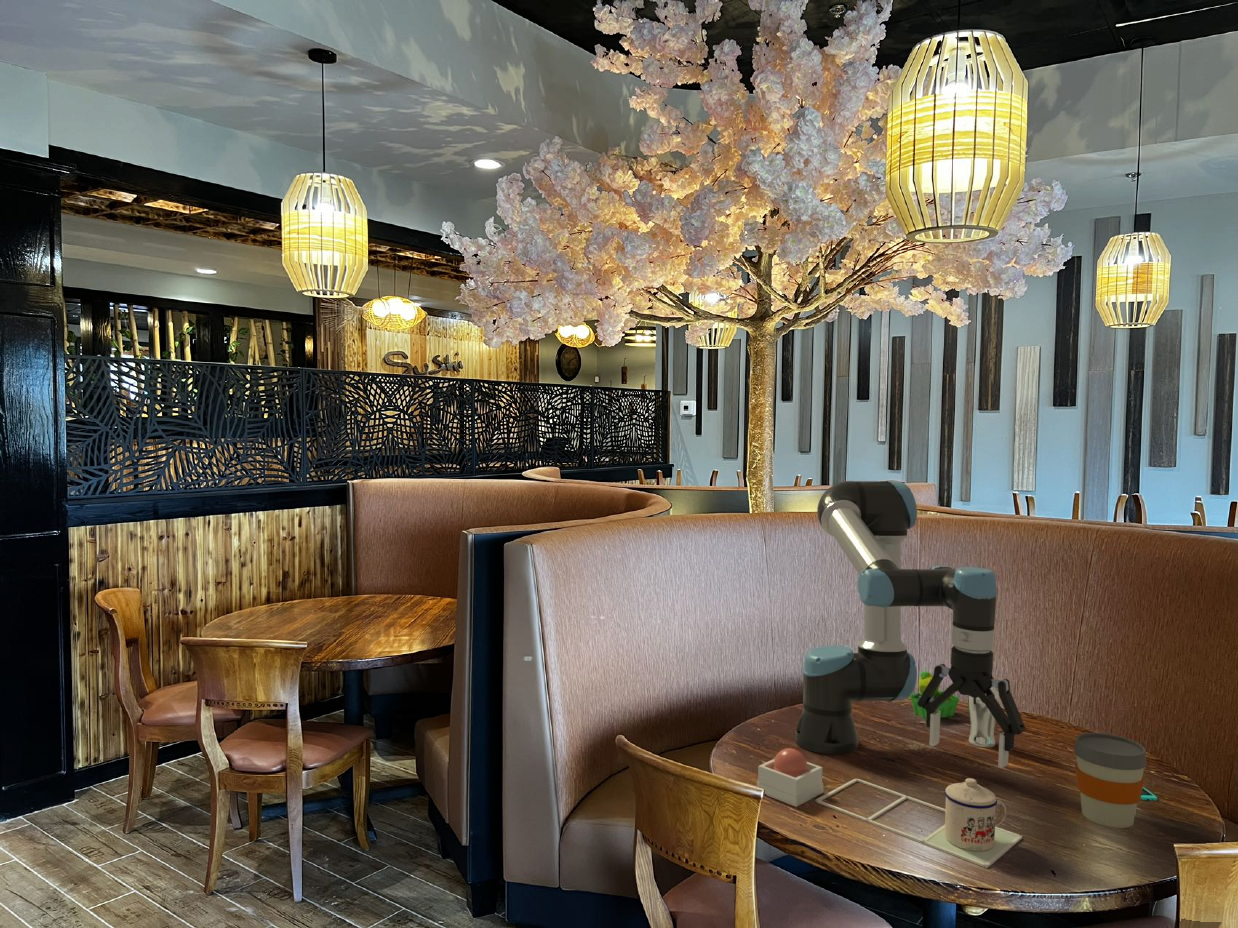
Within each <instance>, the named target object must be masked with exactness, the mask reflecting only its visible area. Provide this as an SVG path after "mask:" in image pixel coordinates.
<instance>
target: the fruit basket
mask: <svg viewBox="0 0 1238 928" xmlns="http://www.w3.org/2000/svg"><path fill="white" fill-rule="evenodd" d="M933 675H934V674H932V673H931V672H929V671H928V670H927V671H926V670H924V671H921V672H920V674H919V681H918V690H919V691H920V693H914V694H913V693H912V694H911V695H910V696H909V699H910V700H911V703H912V708H913V712H914V715H917V716H919V717H920V718H922V719H925V720H926V714H927V713H926V710H925V709H924V708H923V707H919V706H918V704H917V702H918V701H919V699H920V697H921V696H922V694H923V692H924V691H925V689H926V687H927V686H928V684H929V682H930V681H931V679H932V677H933ZM940 687H941V686H940V685H939V686H938V688H937V690H936V691H935V693H934V695H933V696H932V698H931V699H930V701H929V702H930V703H931V702H933V701H934V700H935V699H936V698H937V697H938V696H939V695H941V694H942V693H943V692H944V691H942V690H939V689H940ZM960 699H961V698H959V697H958V696H955V695H954V694H953V695H952V696H951V697H950V698H948V699H947V700H946V701H945V702H944V703H943V704H942V705H940V706H939V707H938V709H936V711H940V719H942V718H944V719H945V718H948V717H949V718H950V717H954V716H955V712H956V710H957V706H958V703H959V702H960Z"/></svg>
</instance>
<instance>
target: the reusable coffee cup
mask: <svg viewBox="0 0 1238 928" xmlns="http://www.w3.org/2000/svg"><path fill="white" fill-rule="evenodd" d="M1075 739H1076V740H1075V744H1074V750H1073V751H1074V754H1075V756H1076V763H1075V765H1074V769H1075V778H1076V785H1077V786H1076V787H1077V790H1078V791H1079V793H1080V805H1081V813H1082V815H1083V816H1084V817H1085V818H1086V819H1088V820H1089V821H1091V822H1094V823H1096V822H1097V823H1096V824H1098V825H1103V826H1105V827H1109V828H1110V827H1111V828H1119V829H1120V828H1121V829H1122V828H1123V829H1124V828H1129V827H1131V826H1133V825H1134V822H1135V817H1136V812H1137V806H1138V803H1140V802H1141V801H1142V800H1141V795H1142V789H1143V787H1144V784H1145V776H1144V775H1143V774H1144V770H1145V768H1146V767H1147V763H1148V762H1147V753H1146V748H1145V746H1143V745H1142V744H1140V743H1139V742H1137V741H1135V740H1132V739H1129V738H1126V737H1124V736H1123V737H1122V736H1119V735H1114V734H1108V733H1101V732H1087V733H1081V734H1078V735H1077V736H1076V738H1075Z"/></svg>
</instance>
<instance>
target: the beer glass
mask: <svg viewBox="0 0 1238 928" xmlns="http://www.w3.org/2000/svg"><path fill="white" fill-rule="evenodd" d="M990 689H991V691H992V692H993V694H994V695H995V699H996V700H997V702H998V703H999V704H1000V702H999V701H1000V700H999V699H1000V696H999V692H998V691H996V688H995V687H994V686H992V687H991V688H990ZM985 695H986V694H985ZM967 706H968V707H967V708H968V715H969V720H970V732H969V737H968V742H969V744H971V745H972V746H975V747H978V746H979V748H985V749H986V748H988V749H989V748H993V747H995V746H996V739H995V726H996V725H995V724H996V722H997V721H996V720H995V718H994V717H993V715H992V714H991V712H990V711H989V709H988V708H987V706H986V705H985V703H983V702H982V701H981V700H980V698H979V697H978V698H973V697H971V696H969V695H967Z"/></svg>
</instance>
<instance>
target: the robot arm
mask: <svg viewBox="0 0 1238 928" xmlns="http://www.w3.org/2000/svg"><path fill="white" fill-rule="evenodd" d="M816 514H817V519H818V523H819V524H820V526H821V527H822V528H823V530H824V532H825V533H827V534H828V535H829V536H833V538H834V539H835V541H836V542H837V544H838V545H839V547H840V548H841V549H842V551H843V553H844V554H845V556H846V558H847V559H848V560H849V562H850V563H851V565H852V566H853V567H854V569H855V571H856V573H858V575H859V576H858V580H857V592H858V594H859V600H860V601H861V602H862V603H863V604H864V607H863V608H864V614H863V616H864V617H863V619H864V624H863V625H864V629H863V630H864V637H863V639H862V640H860V641H859V642H858V643H857V644H858V645H857V652H853V651H854V650H852V648H850V647H849V646H845V645H830V644H829V645H822V646H817V647H814V648H812V649H810V650H809V651H808V652H807V653H805V656H804V663H803V664H804V665H803V670H802V673H803V695H802V696H803V697H802V699H803V700H802V703H803V704H802V706H803V707H802V712H801V715H800V718H799V721H798V723H797V725H796V728H795V734H794V741H795V743H796V744H797V745H798V746H799V747H801V748H803V749H805V750H808V751H811V752H813V753H818V754H825V755H845V754H850V753H853V752H854V751H856V750H857V749H858V748H859V734H858V732H857V728H856V725H855V722H854V718H853V714H852V711H853V707H852V705H853V703H856V702H887V703H892V702H896V701H905V700H907V699H909V698H910V695H913V692H914V691H915V687H916V685H917V677H918V669H917V665H916V660H915V658H914V655H912V654H911V653H910V652H908V646H907V644H905V643H904V642H903V641H902V638H901V637H902V634H901V632H902V631H901V629H902V626H901V625H902V623H901V621H902V617H901V615H902V613H901V612H902V611H901V609H902V608H901V607H947V608H949V609H951V610H952V628H951V629H952V632H951V644H952V645H953V646H952V647H951V648H950V649H951V651H950V652H951V653H950V667H948V666H946V664H944V663H941V664H938V665H936V666H935V667H934V670H933V674H932V675H933V677H932V679H931V681H930V682H929V684H928V686H927V687H926V689H925V691H924V692H923V694H922V696H921V697H920V699H919V701H918V702H917V704H918V706H919V707H923V708H924V709H925V710H926V713H927V714H926V719H925V724H926V728H929V742H928V743H929V745H928V746H930V747H935V746H937V745H938V744H940V733H941V731H940V729H941V718H940V711H936V709H938V707H939V706H940V705H942V704H943V703H944V702H945V701H946V700H947V699H948V698H950V697H951V696H952V695H953V696H954V694H955V693H956V692H958V693H959V694H960V695H962V696H968V695H969V696H971V697H973V698H978V697H979V698H980V700H981V701H982V702H983V703H985V705H986V706H987V708H988V709H989V711H990V712H991V714H992V715H993V717H994V718H995V720H996V721H995V722H996V723H997V725H999V727H1000V728H1001V730H1002V731H1001V732H1000V733H999V741H998V742H999V743H998V761H997V763H998V764H997V768H999V769H1004V768H1005V767H1007V766H1008V765H1009V752H1012V750H1014V748H1015V736H1016V735H1018V736H1019V735H1021V734H1022V733H1024V732H1025V731H1026V729H1027V727H1026V726H1025V723H1024V721H1023V719H1022V716H1021V714H1020V711H1019V708H1018V706H1017V703H1016V702H1015V699H1014V696H1013V695H1012V692H1011V685H1010V680H1009V679H1008V678H1004V679H995V678H994V676H993V669H994V668H993V667H994V652H993V651H992V650H993V649H995V648H994V647H995V624H996V623H995V622H996V608H997V607H996V606H997V594H998V589H997V575H996V573H995V572H994V571H993V570H991V569H989V568H983V567H979V566H978V567H977V566H961V567H958V568H956V569H955V568H952V567H950V566H943V565H935V566H932V567H930V568H927V569H926V568H924V569H923V568H919V569H917V568H915V569H914V568H910V569H909V568H908V569H906V568H905V569H903V568H902V567H901V566H902V565H901V563H902V562H901V561H902V560H901V557H902V551H901V549H902V542H903V541H904V540H906V538H908V530H910V529H912V528H914V526H915V525H916V521H917V518H918V509H917V501H916V499H915V496H914V493H913V492H912V490H911V488H910V487H909V486H908V485H907V484H905V483H904V482H902V481H891V480H890V481H889V480H885V481H883V480H881V481H879V480H878V481H877V480H876V481H875V480H870V481H869V480H868V481H867V480H864V481H863V480H862V481H861V480H859V481H857V480H855V481H854V480H845V481H840V482H838V483H835V484H833V485H831V486H830V487H828V488H827V489H826V490H825V491H824V492H823V494H822V495H821V497H820V499H819V500H818V504H817V509H816ZM947 676H948V677H949V678H950V680H951V682H952V683H951V684H950V685H949V686H948V687H946V689H945V690H944V691H943V693H942V694H941V695H939V696H938V697H937V698H936V699H935V700H934V701H933V702H931V703H930V702H929V701H930V699H931V698H932V696H933V695H934V693H935V691H936V690H937V688H938V686H939V685H940V684H941V683H942V681H943V679H944V678H945V677H947ZM992 686H994V687H995V688H996V691H998V694H999V699H1000V701H1001V704H1002V706H1003V708H1004V709H1003V708H1002V706H1001V704H1000V702H999V703H998V702H997V700H996V699H995V695H994V694H993V692H992V691H991V689H990V688H991V687H992ZM985 694H986V695H985ZM1004 710H1005V711H1004Z"/></svg>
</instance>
